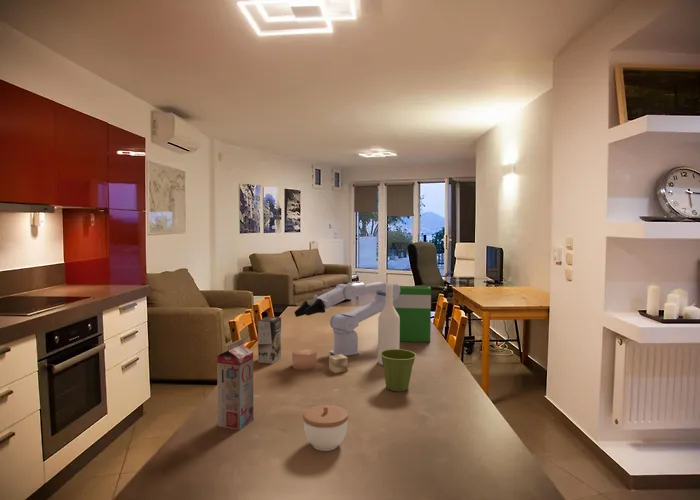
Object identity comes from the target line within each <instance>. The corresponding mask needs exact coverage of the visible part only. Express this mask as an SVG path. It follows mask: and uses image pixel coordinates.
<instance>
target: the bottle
mask: <svg viewBox="0 0 700 500" xmlns="http://www.w3.org/2000/svg"><path fill="white" fill-rule="evenodd" d="M377 320H378V325H377V328H378V329H377V330H378V331H377V332H378V333H377V335H378V336H377V337H378V338H377V351H378V352H377V362H378V364H379V365H381V366H383V362H382V357H381V356H380V352H381V351H384V350H388V349H400V341H399V339H400V318H399V315H398V313H397V311H396V310H395V308H394V306H393V285H392V284H386V304H385V307H384V309H383V310H382V312H380V314H379V315H378V319H377Z"/></svg>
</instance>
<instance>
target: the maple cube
mask: <svg viewBox="0 0 700 500" xmlns="http://www.w3.org/2000/svg"><path fill="white" fill-rule="evenodd" d="M348 359H349V358H348V356H344V355H342V354H339V355H334V354H333V355H329V356H328V369H329V370H330V371H331V372H333V373H334V374H337V373H339V374H340V373H344V372H348V370H349V369H348V366H349V364H348Z"/></svg>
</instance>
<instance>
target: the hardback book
mask: <svg viewBox="0 0 700 500" xmlns="http://www.w3.org/2000/svg"><path fill="white" fill-rule="evenodd" d="M399 286H400V294H399V297H398V299H396V300H394V301H393V306H394V308H395V310H396V311H397V313H398V315H399V318H400V339H399V342H417V343H418V342H419V343H420V342H421V343H423V342H424V343H426V342H428V343H431V325H432V324H431V323H432V321H431V319H432V311H431V310H432V288H431V286H424V285H423V286H421V285H420V286H417V285H416V286H415V285H399Z"/></svg>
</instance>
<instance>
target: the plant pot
mask: <svg viewBox="0 0 700 500" xmlns="http://www.w3.org/2000/svg"><path fill="white" fill-rule="evenodd" d="M380 356H381V357H382V362H383V365H382V367H383V373H384V380H385V387H386V389H387V390H391V391H393V392H405V391H406V390H409V386H410V381H411V377H412V370H413V367H414V366H413V365H414V363H415V360H416V358H417V356H418V355H417V353H416V352H414V351H411V350H407V349H401V348H399V349H388V350H384V351H381V352H380Z"/></svg>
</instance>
